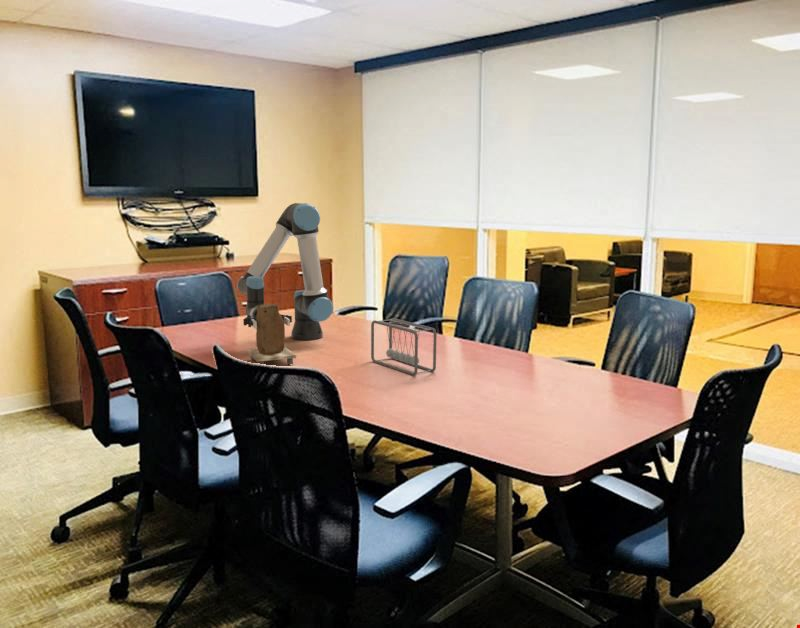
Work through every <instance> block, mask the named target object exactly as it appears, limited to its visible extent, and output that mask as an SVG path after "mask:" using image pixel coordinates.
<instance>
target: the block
mask: <svg viewBox="0 0 800 628" xmlns="http://www.w3.org/2000/svg"><path fill="white" fill-rule="evenodd" d="M279 309H280V307H279V305H278V304H277V303H264V305H259V306H257V317H256V322H257V328H255V329H256V333H255V336H256V337H255V341H256V349H258V351H259V352H260V353H262V354H275V353H279V352H281V351H283V349H284V347H286V343H285V342H286V332H285V331H286V329H285V328H286V327H285V324H284V321H283V319H282V317H281V313H280V311H279Z"/></svg>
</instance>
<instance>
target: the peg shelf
mask: <svg viewBox="0 0 800 628" xmlns="http://www.w3.org/2000/svg"><path fill="white" fill-rule="evenodd" d="M247 353H248V355H250V361H251V360H252V361H254V362H257V364H258V363H260V364H264V365H265V362H268V361H275V360H276V361H277V360H286V365H287V364H293V365H294V359H296V358H297V354H295V353H294V352H293V351H292V350H290V349H289V348H288V347H286V346H284V349H283V351H281V352H279V353H275V354H262V353H260V352H259V351H258V349H257V348H254V349H253V348H252V349H247ZM255 360H256V361H255ZM252 361H251V362H252Z"/></svg>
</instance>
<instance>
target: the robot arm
mask: <svg viewBox="0 0 800 628" xmlns="http://www.w3.org/2000/svg"><path fill="white" fill-rule="evenodd" d="M320 221H321V215H320V212H319V210H318V209H317V208H316V207H315V206H314V205H312V204H310V203H306V202H305V203H304V202H303V203H300V202H295V203H291V204H289V205H288V206H287V207H286V208H285V209H284V211H283V212H282V213H281V215H280V217H279V218H278V219H277V221H276V222H275V228H274V230H273V231H272V233H271V234H270V236H269V237H268V239H267V241H266V242H265V243H264V245H263V247H262V248H261V250H260V251H259V252H258V254H257V256H256V257H255V259H254V261H253V262H252V264H251V265H250V266H249V268H248V269H247V271H246V273H245V274H243V276H242V277H240V278H239V279H238V280H237V283H236V286H237V287H236V289H238V291H239V292H240V293H241V294H243V295H246V305H245V310H244V312H245V314H246V317H245V318H243V326H248V328H254V329H256V328H257V322H256V317H257V306H259V305H264V304H265V282H264V277H265V274H266V273H267V272H268V270H270V267H271V266H272V264H273V262H275V260H276V258H277V257H278V255H279V254H280V252H281V251H282V249H283V247H284V246H285V244H286V243H287V241H288V240H289V239H290V237H292V236H293V237H295V238H296V240H297V247H298V253H299V259H300V265H301V266H300V268H301V274H302V279H303V286H304V290H303V289H302V290H296V291H295V292H294V294H293V295H294V296H293V303H294V324H293V326H292V330H291V332H290V333H291V334H290V335H291V336H290V337H291V339H294V340H299V341H314V340H319V339H322V338H324V337H323V336H324V335H323V329H322V326H321V324H320V323H321V322H325V321H327V320H328V319H330V317H331V316H332V315H333V311H334V305H333V303H332V301H331V299H330V298H329V294H328V289H327V288H325V287H324V281H323V276H322V275H323V274H322V268H321V262H320V253H319V249H318V241H317V235H318V234H319V232H320V231H319V224H320ZM280 314H281V313H280ZM281 317H282V319H283V321H284V325H286V326H287V327H290V326H291V323H292V322H293V319H292V318H293V317H292V315H288V314H286V315H285V314H281Z"/></svg>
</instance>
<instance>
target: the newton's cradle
mask: <svg viewBox="0 0 800 628" xmlns="http://www.w3.org/2000/svg"><path fill="white" fill-rule="evenodd" d="M387 321H389V322H387ZM395 323H397V324H395ZM375 324H377V325H381V326H383V327H386V330H387V332H388V334H387V335H388V336H387V337H388V342H389V343H388V344H389V345H388V349H387V350H386V353H385V354H386V357H388V358H384V359H375ZM398 324H401V325H398ZM404 325H405V326H406V327H405V326H404ZM388 327H389V328H388ZM410 327H412V328H410ZM393 329H394V330H393ZM416 329H418V330H416ZM396 330H398V331H399V333H398V336H399V337H398V338H399V339H398V341H399V343H398V345H396V343H394V346H395V348H397V347H400V346H399V345H402V343H401V332H402V331H403V332H404V334H405V335H407V332H408V333H410V335H411V336H413V334H414V345H413V344H410V346H409V348H411V347H412V349H414V351H412V353H413V355H412V354H410V352H411V350H409V352H408V349H406V352H407V353H406V352H404V351H405V349H403V350H402V347H400V350H401V351H399V349H395V350H394V349H393V342H394V341H395V339H396V337H395V332H396ZM424 331H432V332H433V344H432V345H433V346H432V347H433V349H432V350H433V351H432V353H433V354H432V355H433V356H432V358H433V359H432V368H430V367H426V366H423V365H420V364H419V363H420V359H419V357H418V356H419V355H418V353H419V350H418V349H419V344H418V343H419V335H420V332H424ZM437 335H438V334H437V331H436V328H434V327H430V326H426V325H423V324H420V323H415V322H410V321H407V320H403V319H398V318H395V317H392V318H390V319H383V320H375V319H374V320H372V322H371V330H370V337H371V338H370V342H371V343H370V347H371V349H370V357H371V361H372V362H373V363H375V362H376V363H375V364H378V363H379V364H378V365H381V364H382V365H381V366H384V365H385V366H384V367H387V366H388V367H387V368H389V367H391V368H390V369H392V368H393V370H395V369H396V370H395V371H398V370H399V372H401V371H402V372H401V373H404V372H405V373H404V374H408V375H411V376H416V375H417V374H422V373H423V374H424V373H427V372H428V373H429V372H430V371H431V373H433V372H435V371H436V369H437V338H438V337H437ZM406 338H407V336H404V341H407V339H406ZM410 342H413V337H410ZM407 344H408V343H404V346H403V347H405V346H406V347H408V345H407ZM396 346H397V347H396ZM413 346H414V347H413ZM393 359H395V360H394V361H396V360H397V362H399V361H400V362H401V363H402V362H403V364H405V363H406V364H405V365H409V366H413V367H414V372H413V371H409V370H406V369H403V368H401V367H398V366H394V365H392V364H389V363H386V362H382V361H386V360H393ZM381 360H382V361H381ZM418 368H419V369H422V370H425V371H419V372H418Z"/></svg>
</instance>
